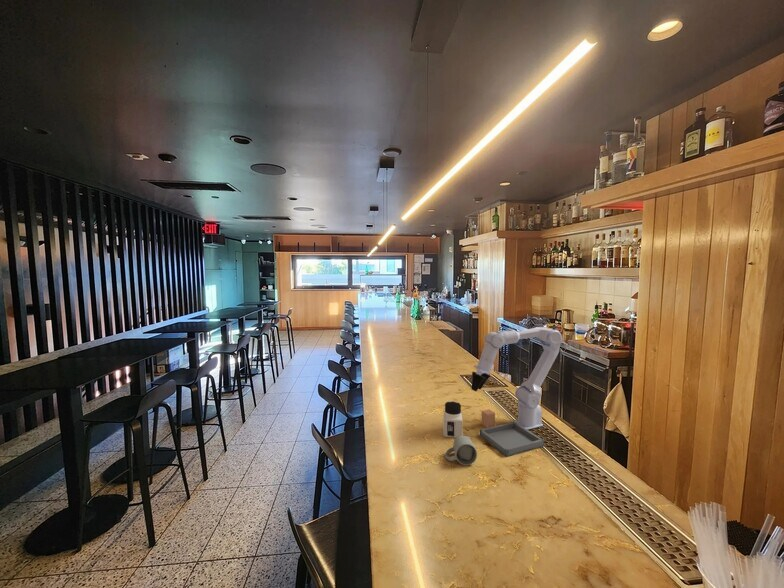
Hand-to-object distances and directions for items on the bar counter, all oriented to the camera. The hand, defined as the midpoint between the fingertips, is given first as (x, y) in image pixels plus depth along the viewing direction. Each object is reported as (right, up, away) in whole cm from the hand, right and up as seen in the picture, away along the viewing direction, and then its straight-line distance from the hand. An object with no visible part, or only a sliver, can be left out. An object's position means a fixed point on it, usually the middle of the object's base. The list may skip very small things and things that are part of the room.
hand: (476, 389), depth 132 cm
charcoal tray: (+12, -18, -8) cm, 23 cm away
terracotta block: (+7, -17, +5) cm, 19 cm away
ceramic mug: (-11, -19, -20) cm, 30 cm away
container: (-10, -18, -1) cm, 21 cm away
